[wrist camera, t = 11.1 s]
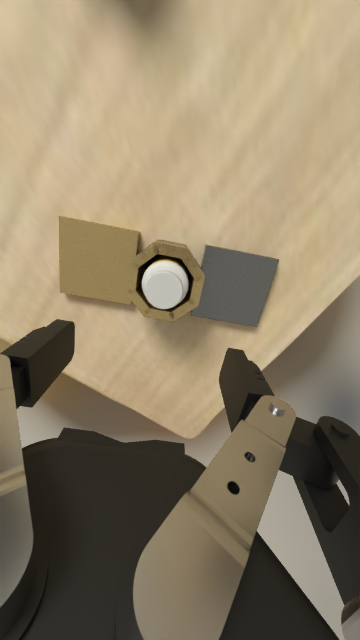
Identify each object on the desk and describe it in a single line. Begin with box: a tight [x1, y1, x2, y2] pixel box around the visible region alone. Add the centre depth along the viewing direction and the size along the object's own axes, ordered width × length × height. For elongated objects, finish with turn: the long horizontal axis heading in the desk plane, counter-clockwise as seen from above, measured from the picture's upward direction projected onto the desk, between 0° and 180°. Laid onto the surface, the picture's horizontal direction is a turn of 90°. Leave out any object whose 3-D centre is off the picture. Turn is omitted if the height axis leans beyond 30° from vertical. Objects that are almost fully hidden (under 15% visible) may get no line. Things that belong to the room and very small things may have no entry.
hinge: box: [59, 216, 279, 327], centre depth 30 cm, size 29×10×6 cm, turn 79°
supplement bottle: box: [142, 256, 188, 309], centre depth 28 cm, size 5×5×10 cm
